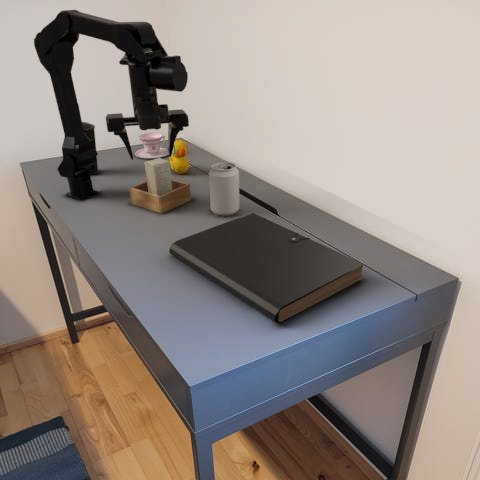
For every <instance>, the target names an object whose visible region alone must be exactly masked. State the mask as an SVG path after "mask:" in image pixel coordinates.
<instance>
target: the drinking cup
mask: <svg viewBox="0 0 480 480" xmlns="http://www.w3.org/2000/svg"><path fill="white" fill-rule="evenodd" d="M78 107H79V108H80V105H79V103H78ZM79 111H80V112H81V110H80V109H79ZM80 116H81V114H80ZM81 117H82V116H81ZM82 125H83V129H84V133H85V135H86V136H87V137H88V138H89V139H90V140H94V142H95V147H96V148H97V144H96V131H95V129H96V125H95V124H92V123H90V122H87V121H82ZM98 172H99V166H98V160H97V161H96V162H95V169H94V170H92V171H89V173H90V176H92V175H96V174H98Z"/></svg>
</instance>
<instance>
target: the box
mask: <svg viewBox="0 0 480 480" xmlns="http://www.w3.org/2000/svg"><path fill="white" fill-rule="evenodd" d="M143 164H144V170H145V175H146V176H145V177H146V181H147V184H148V191H149V193H152V194H156V195H159V196H161V195H163V194H166V193H168V192H170V191H172V184H171V179H172V176H171V169H170V168H171V166H170V161H169V160H167V159H163V158H162V157H160V158H153V159H151V160H147V161H144V163H143Z"/></svg>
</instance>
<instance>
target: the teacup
mask: <svg viewBox="0 0 480 480" xmlns="http://www.w3.org/2000/svg"><path fill="white" fill-rule="evenodd" d="M137 138H138V139H139V140H140V141H141V143H142V145H143V148H141V149H138V150H136V151H135V152H134V155H135V157H137V158H141V159H151V160H153V159H157V158H164V157H167V156H169V151H168V148H166V147H163V146H164V144H165V142H166V136H165V135H164V134H163V133H160V132H145V133H141V134H139V135H137ZM162 139H163V140H162ZM161 140H162V142H161ZM160 143H161V144H160Z"/></svg>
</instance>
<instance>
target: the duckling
mask: <svg viewBox="0 0 480 480" xmlns="http://www.w3.org/2000/svg"><path fill="white" fill-rule="evenodd" d="M187 154H188V146H187V144H186V142H185V141H184V140H181V139H175V143H174V147H173V151H172V155H171V157H170V156H169V160H168V161H169V167H170V168H171V169H170V170H172V172H173V171H174V172H175V173H176V174H179V175H181V174H182V175H183V174H185V173H186V172H187V171H188V169H189V168H190V163H189V160H188V159H187Z"/></svg>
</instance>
